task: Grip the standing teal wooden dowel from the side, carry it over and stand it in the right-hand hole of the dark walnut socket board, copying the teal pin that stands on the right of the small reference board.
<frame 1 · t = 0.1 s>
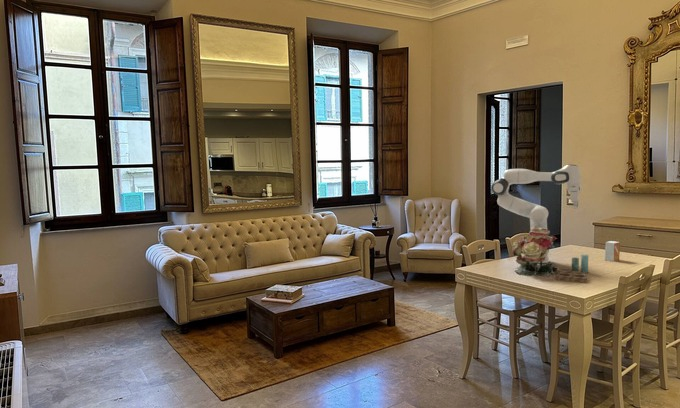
hand: (575, 208, 324), 39 cm above the table, tool pointing down, fingers open, 8 cm apart
dowel: (584, 272, 303), on the table
rose bouquet: (533, 272, 306), on the table
small box: (612, 260, 337), on the table
socket board: (571, 279, 286), on the table
reference board: (569, 274, 299), on the table
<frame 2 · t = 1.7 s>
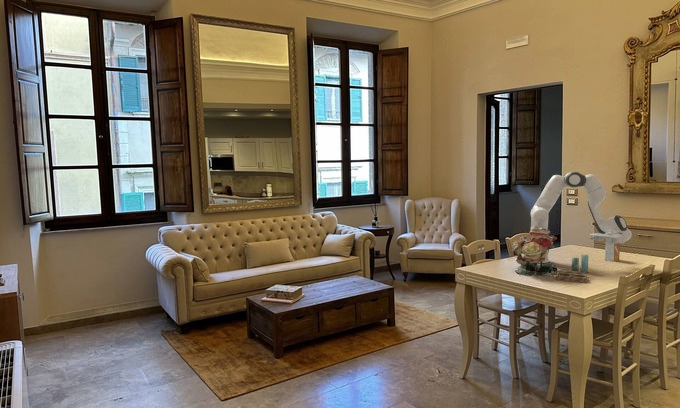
hand: (598, 239, 306), 20 cm above the table, tool horizontal, fingers open, 8 cm apart
nothing on the table moved.
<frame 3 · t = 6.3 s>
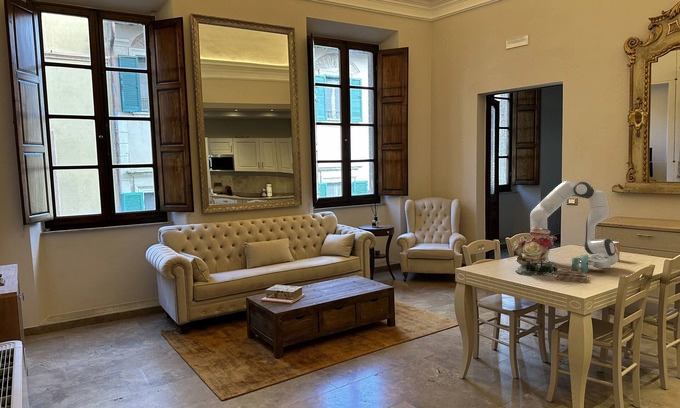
hand: (583, 263, 302), 6 cm above the table, tool horizontal, fingers closed on dowel, 4 cm apart
dowel: (584, 272, 303), on the table, touching gripper
everything else where it was.
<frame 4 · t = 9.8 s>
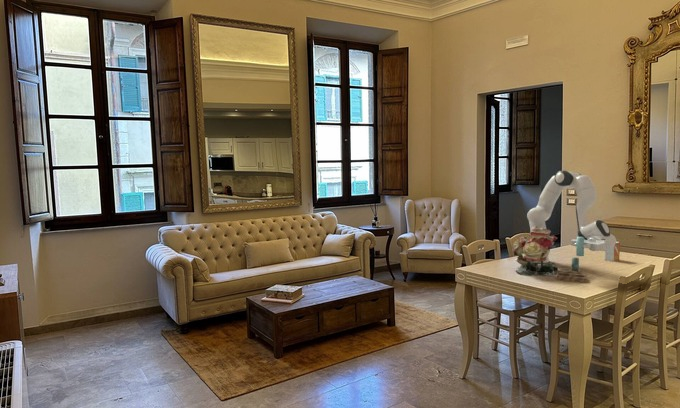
hand: (579, 245, 282), 21 cm above the table, tool horizontal, fingers closed on dowel, 4 cm apart
dowel: (580, 255, 283), point 15 cm above the table, touching gripper
everything else where it was.
when the fingers open (7 cm above the table, at t = 13.3 s): dowel drops 1 cm, resting in socket board.
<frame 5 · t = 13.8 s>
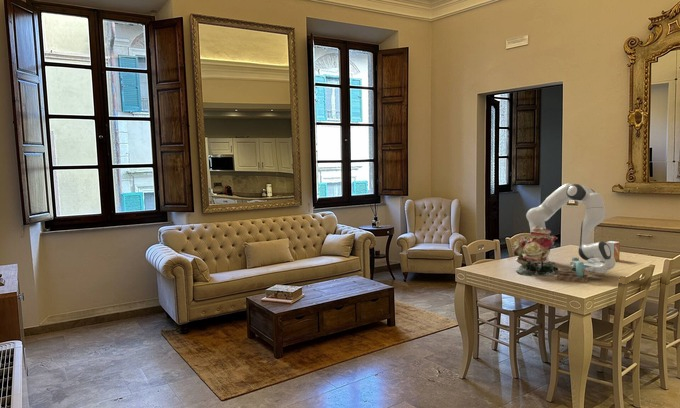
hand: (578, 268, 283), 7 cm above the table, tool horizontal, fingers open, 8 cm apart
dowel: (579, 280, 284), resting in socket board
everything else where it was.
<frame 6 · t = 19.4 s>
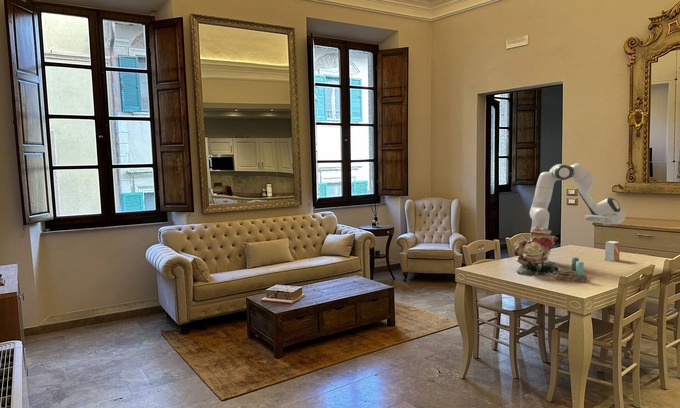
hand: (592, 219, 313), 32 cm above the table, tool horizontal, fingers open, 8 cm apart
nothing on the table moved.
at the end: dowel 0.1 cm from the target spot, resting in socket board; dowel tilted 0°; the gripper is holding nothing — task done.
